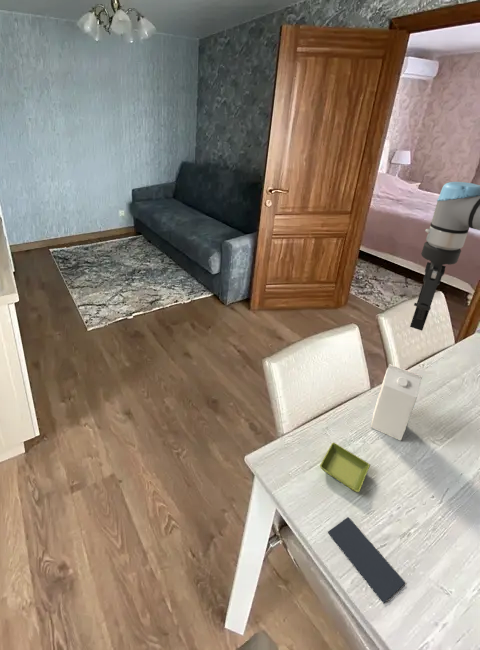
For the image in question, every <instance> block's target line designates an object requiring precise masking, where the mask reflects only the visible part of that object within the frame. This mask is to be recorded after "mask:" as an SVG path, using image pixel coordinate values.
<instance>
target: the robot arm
mask: <svg viewBox="0 0 480 650" xmlns="http://www.w3.org/2000/svg"><path fill="white" fill-rule="evenodd" d="M470 229H473V230H476V231H480V184H476V183H472V182H465V181H449V182H446V183H444V185H443V186H442V188H441V191H440V193H439V196H438V198H437V199H436V204H435V207H434V212H433V215H432V218H431V222H430V225H429V228H426V229H425V230H424V232H425V233H427V235H426V238H425V241H426V242H424V243H423V247H422V250H421V253H420V254H421V257H422V258H424V260H427V262H426V265H425V268H424V275H423V279H422V282H423V284H422V285H421V289H420V291H419V295H418V298H417V301H416V302H414V303H413V306H415V310H414V313H413V316H412V319H411V322H410V325H409V328H413V329H416V330H417V331H421V332H422V331H423V330H424V327H425V324H426V321H427V318H428V316H429V313H430V312H429V311H431V306H432V304H433V300H434V297H435V293H436V290H437V288H438V286H439V285H440V284H441V281H442V278H443V277H444V275H445V273H446V267H447V266H446V265H449V266H451V265H454V264H457V263H458V261H459V258H460V255H461V252H462V248H463V247H464V246H465V242H466V240H467V237H468V233H469V230H470ZM428 261H429V262H428Z"/></svg>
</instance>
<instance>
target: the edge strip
mask: <svg viewBox="0 0 480 650" xmlns="http://www.w3.org/2000/svg"><path fill="white" fill-rule="evenodd" d="M327 533H328V535H329V536H330V538H332V540H333V541H334V543H336V545H337V546H338V547H339V548H340V550H341V551H342V552H343V554H344V555H345V557H347V559H348V560H349V562H350V563H351V564H352V565H353V566H354V568H355V569H356V570H357V572H359V574H360V575H361V577H362V578H363V579H364V580H365V582H366V583H367V585H368V586H370V588H371V589H372V590H373V591H374V593H375V594H376V595H377V597H378V598H379V599H380V600H381V602H382V603H383V604H385V603H386V602H387V601H388V600H389V599H390V598H391V597H393V596H394V595H395V594H396V593H397V592H398V591H399V590H400V589H401V588H402V587H404V585H405V584H406V582H405V580H404V579H403V578H402V577H401V576H400V575H399V573H398V572H397V571H396V570H395V569H394V567H392V565H391V564H390V563H389V562H388V561H387V560H386V558H385V557H384V556H383V555H382V554H381V553H380V552H379V550H378V549H376V547H375V546H374V545H373V544H372V542H371V541H370V540H369V539H368V538H367V536H366V535H364V533H363V532H362V531H361V529H359V527H358V526H357V525H356V524H355V523H354V522H353V521H352V520H351V518H350V517H349V516H347V517H346V518H344V519H343V520H342V521H340V522H339V523H338V524H336V525H335V526H333V527H332V528H331V529H329V530H328V531H327Z"/></svg>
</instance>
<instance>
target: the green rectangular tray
mask: <svg viewBox="0 0 480 650" xmlns="http://www.w3.org/2000/svg"><path fill="white" fill-rule="evenodd" d="M370 466H371V464H370V463H368V462H367V461H365V460H363V459H362V458H360V457H358V456H357V455H356V454H354V453H352V452H350V451H348V449H345V448H344V447H342V446H341V445H339V444H337V443H336V442H332V443H331V444H330V446H329V448H328V449H327V452H326V454H325V455H324V457H323V459H322V461H321V462H320V465H319V467H320V469H321V470H322V471H323V472H325V473H326V474H328V475H329V476H331V477H332V478H334V479H335V480H337V481H338V482H340V483H341V484H343V485H344V486H345V487H347V488H349V489H350V490H351V491H353V492H355V493H360V492H361V489H362V487H363V484H364V481H365V479H366V477H367V474H368V473H369V470H370Z"/></svg>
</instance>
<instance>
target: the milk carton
mask: <svg viewBox="0 0 480 650" xmlns="http://www.w3.org/2000/svg"><path fill="white" fill-rule="evenodd" d="M422 378H423V375H421V374H418V373H415V372H414V371H410V370H407V369H405V368H401V367H399V366H396V365H394V364H391V363H389V364H388V366H387V368H386V370H385V374H384V377H383V380H382V384H381V386H380V390H379V393H378V396H377V400H376V403H375V406H374V409H373V413H372V419H371V423H370V428H371V429H374V430H376V431H378V432H381V433H382V434H384V435H386V436H389V437H391V438H393V439H396V440H398V441H401V442H402V440H403V437H404V435H405V432H406V429H407V427H408V423H409V421H410V419H411V415H412V413H413V410H414V408H415V405H416V403H417V399H418V397H419V392H420V386H421V382H422V380H423V379H422Z"/></svg>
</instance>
